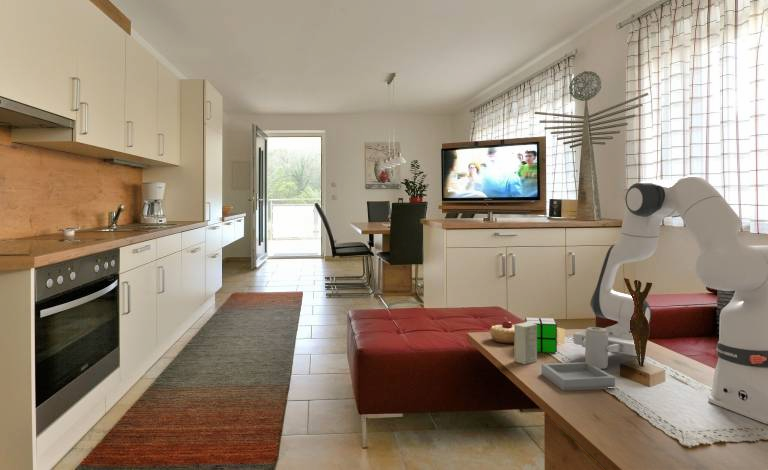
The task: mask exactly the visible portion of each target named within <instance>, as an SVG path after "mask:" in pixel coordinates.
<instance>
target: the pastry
mask: <svg viewBox="0 0 768 470" xmlns="http://www.w3.org/2000/svg"><path fill="white" fill-rule="evenodd" d="M504 319H505V320H503V321H502V322H501V324H496V325H495V324H494V325H492V326H491V327H490V328H489V331H490V336H491V339H492V340H493V341H494V342H497V343H500V344H501V343H502V344H514V325H515V324H514V323H513V322H512V321H509V319H508V318H507V317H506V316H504Z"/></svg>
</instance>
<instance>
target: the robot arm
mask: <svg viewBox="0 0 768 470" xmlns="http://www.w3.org/2000/svg"><path fill="white" fill-rule="evenodd" d="M625 204H626V208H625V212H624V215H623V219H622V224H621V229H620V236H619V239H618V240H617V242H616V243H615V244H612V245H611V246H610V247H609V248H608V250H607V252H606V255H605V258H604V260H603V264H602V267H601V270H600V273H599V276H598V281H597V284H596V287H595V289H594V291H593V293H592V296H591V300H590V303H589V304H590V305H589V306H590V308H591V311H592V312H593V313H594V315H595V316H596V317H597V318H601V319H609V320H612V321H616V322H617V323H616V324H613V325H611V326H610V325H609V326H606V327H604V329H607V333H608V345H607V346H606V347H605V351H606V352H608V353H611V354H612V355H613V354H614V355H618V354H623V355H628V356H634V357H635V356H637V354H636V351H635V344H634V340H633V336H632V332H631V330H630V320H631V317H632V315H633V313H634V307H635V306H634V301H633V298H632V296H631V295H632V294H627V293H623V292H619V291H615V290H614V288H613V286H614V283H615V279H616V277H617V273H618V270H619V267H620V266H621V265H623V264H627V263H633V262H639V261H643V260H646V259H648V258H650V257H652V255H654V254H655V253H656V251H657V249H658V246H659V240H660V230H661V224H662V221H663V220H664V219H665V218H679V217H680V218H681V220H682V221H683V222H684V224H685V225H686V227H687V228H688V230H689V231H690V232H691V234H692V235H693V237H694V238H695V240H696V242H697V244H698V248H699V252H700V254H699V256H698V258H697V260H696V263H695V274H696V276H697V278H698V280H699V282H700V283H701V284H702V285H703V286H705V287H707V288H709V289H713V290H716V291H717V290H718V291H723V292H734V294H733V296H732V298H731V299H730V300H729V302H728V304H727V305H725V306H724V307H723V308H721V311H720V314H719V331H718V332H719V333H718V334H719V336H718V337H719V339H718V341H717V344H716V356H717V357H718V359H717V363H716V366H715V368H714V374H713V380H712V387H711V388H712V389H711V392H710V395H709V396H708V402H709V403H710V404H714V405H716V406H719V407H721V408H723V409H727V410H729V411H732V412H735V413H737V414H740V415H742V416H745V417H747V418H749V419H752V420H755V421H757V422H760V423H763V424H765V425H768V245H766V244H765V245H763V244H762V245H761V244H760V245H748V244H746V243H744V242H743V241H742V240H741V238H740V236H739V232H740V230H741V229H742V219H741V218H740V216H738V214H737V213H736V212H735V211H734V209H733V208H732V207H731V205H730V203H728V202H727V200H726V199H725V198H724V197H723V195H722V194H721V193H720V192H719V191H718V190H717V189H716V188H715V187H714V186H713V185H712V184H710V182H708V181H707V180H706V179H705V178H703V177H702V176H699V175H687V176H683V177H681V178H680V179H678V180H671V179H669V180H667V179H657V180H649V181H647V180H644V181H638V182H636V183H633V184H632V185H630V186H629V187H628V189H627V191H626V195H625ZM643 312H644V315H645V316H646V318H647V320H648V323H649V325H650V323H651V319H652V309H651V305H650V304H649V303H648V301H647V300H646V299H645V300H644V303H643ZM586 331H587V330H581V331H576V332H574V333H573V338H572V341H573V343H574V344H575V345H577V346H578V345H579V346H581V347H582V348H585V342H586Z"/></svg>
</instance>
